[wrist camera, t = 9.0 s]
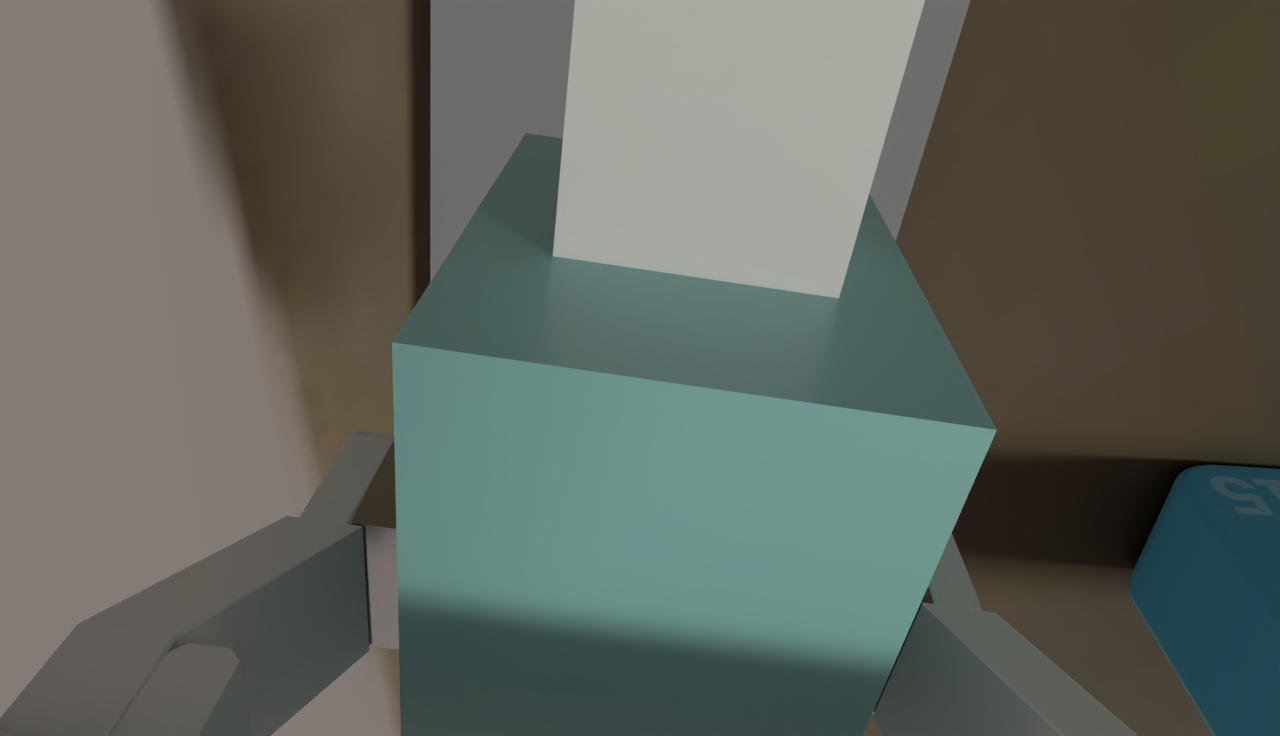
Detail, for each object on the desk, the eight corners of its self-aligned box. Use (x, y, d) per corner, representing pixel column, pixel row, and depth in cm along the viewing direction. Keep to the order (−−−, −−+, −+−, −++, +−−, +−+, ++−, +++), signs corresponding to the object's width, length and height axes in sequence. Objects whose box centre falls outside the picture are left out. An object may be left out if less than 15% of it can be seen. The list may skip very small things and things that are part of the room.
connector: (541, -102, 8) (382, -72, 4) (929, -42, 9) (1163, 50, 4) (486, 757, 16) (409, 1085, 12) (693, 785, 16) (693, 1121, 12)
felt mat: (438, -294, 17) (430, -299, 16) (1023, -203, 17) (1034, -204, 16) (435, 430, 26) (429, 441, 25) (813, 483, 26) (816, 495, 26)
